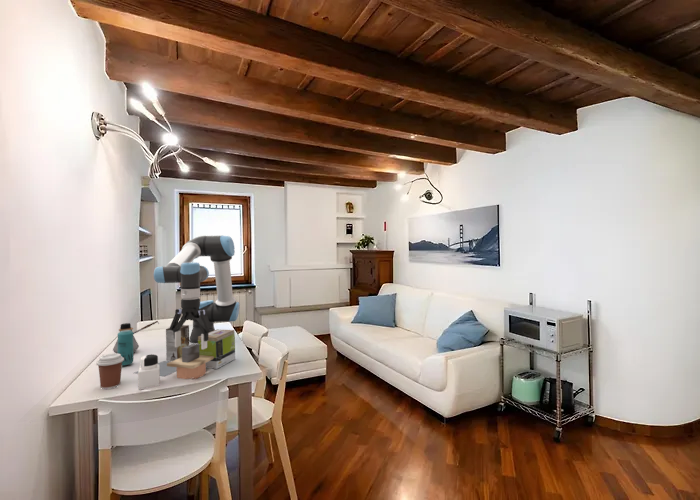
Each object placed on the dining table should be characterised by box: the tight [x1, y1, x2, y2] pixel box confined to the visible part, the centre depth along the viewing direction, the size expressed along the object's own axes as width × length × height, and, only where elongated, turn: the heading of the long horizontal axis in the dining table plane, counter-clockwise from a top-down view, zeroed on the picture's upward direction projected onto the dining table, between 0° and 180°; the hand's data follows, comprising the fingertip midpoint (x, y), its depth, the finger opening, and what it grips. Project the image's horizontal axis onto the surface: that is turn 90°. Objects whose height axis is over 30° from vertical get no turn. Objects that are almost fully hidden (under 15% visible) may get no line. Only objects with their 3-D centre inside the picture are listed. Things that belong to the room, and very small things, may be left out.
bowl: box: [176, 363, 207, 380], centre depth 149 cm, size 11×11×6 cm
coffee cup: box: [95, 352, 124, 390], centre depth 138 cm, size 9×9×12 cm
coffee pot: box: [112, 320, 160, 354], centre depth 185 cm, size 21×12×15 cm, turn 130°
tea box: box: [197, 329, 236, 370], centre depth 164 cm, size 15×10×15 cm, turn 165°
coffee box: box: [165, 324, 190, 362], centre depth 171 cm, size 9×6×16 cm
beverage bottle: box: [117, 322, 134, 366], centre depth 161 cm, size 6×7×20 cm
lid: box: [167, 342, 214, 369], centre depth 149 cm, size 13×13×7 cm
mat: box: [133, 360, 177, 378], centre depth 156 cm, size 17×17×1 cm
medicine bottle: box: [137, 353, 161, 391], centre depth 137 cm, size 7×7×12 cm
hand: (190, 347), depth 149 cm, fingers open, 13 cm apart
